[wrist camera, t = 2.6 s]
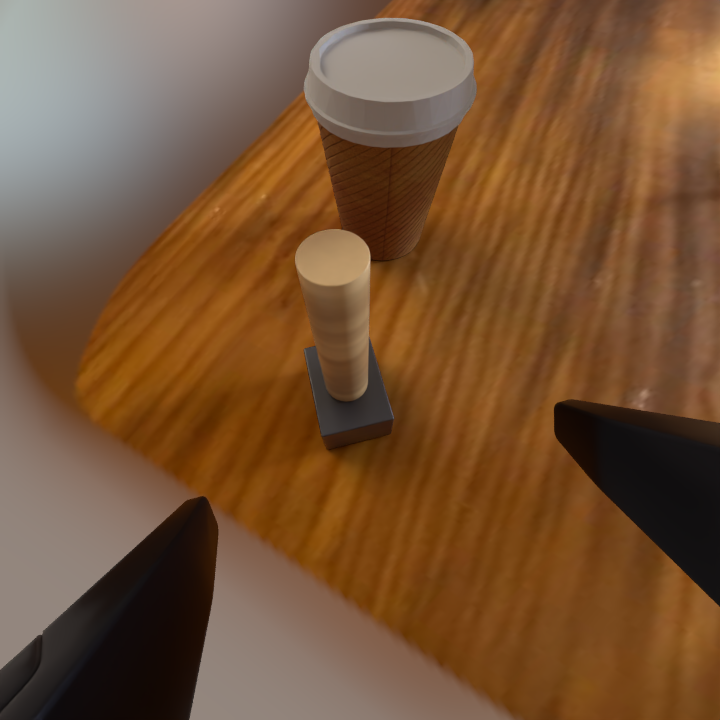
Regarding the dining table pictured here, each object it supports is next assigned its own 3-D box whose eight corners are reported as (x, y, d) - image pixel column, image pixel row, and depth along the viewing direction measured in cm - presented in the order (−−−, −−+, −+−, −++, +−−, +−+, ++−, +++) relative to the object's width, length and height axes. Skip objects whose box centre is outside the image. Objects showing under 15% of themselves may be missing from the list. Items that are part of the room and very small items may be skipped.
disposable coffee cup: (355, 180, 33) (350, 2, 22) (456, 212, 31) (505, 33, 20) (302, 252, 29) (265, 80, 18) (413, 294, 27) (446, 127, 16)
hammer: (391, 434, 22) (420, 312, 10) (326, 450, 22) (282, 342, 10) (368, 356, 24) (371, 188, 13) (309, 369, 24) (259, 208, 12)
